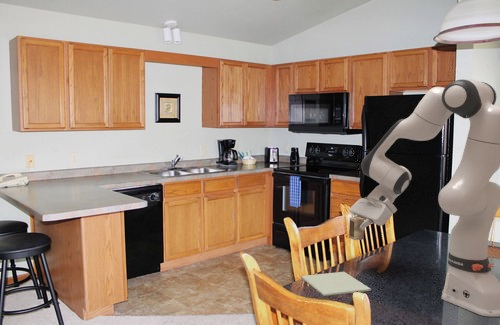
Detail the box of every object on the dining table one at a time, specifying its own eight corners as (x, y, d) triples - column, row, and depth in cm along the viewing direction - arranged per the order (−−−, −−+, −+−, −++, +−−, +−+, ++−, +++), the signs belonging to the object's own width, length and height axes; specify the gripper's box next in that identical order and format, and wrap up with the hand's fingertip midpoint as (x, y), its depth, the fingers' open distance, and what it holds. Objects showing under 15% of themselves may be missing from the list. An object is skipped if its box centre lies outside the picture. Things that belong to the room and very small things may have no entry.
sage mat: (370, 290, 150) (370, 288, 150) (323, 296, 144) (323, 294, 144) (343, 273, 167) (344, 271, 167) (300, 277, 161) (300, 276, 161)
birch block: (357, 236, 172) (358, 216, 171) (363, 239, 168) (364, 219, 167) (348, 237, 171) (349, 217, 170) (353, 240, 167) (354, 219, 166)
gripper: (359, 191, 180) (337, 216, 178) (390, 199, 161) (366, 227, 159) (368, 201, 182) (347, 226, 180) (399, 211, 162) (376, 238, 160)
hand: (356, 226), depth 169 cm, fingers closed on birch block, 4 cm apart
